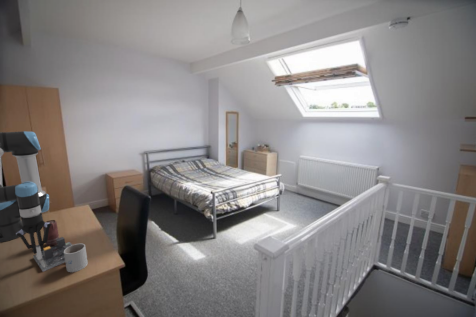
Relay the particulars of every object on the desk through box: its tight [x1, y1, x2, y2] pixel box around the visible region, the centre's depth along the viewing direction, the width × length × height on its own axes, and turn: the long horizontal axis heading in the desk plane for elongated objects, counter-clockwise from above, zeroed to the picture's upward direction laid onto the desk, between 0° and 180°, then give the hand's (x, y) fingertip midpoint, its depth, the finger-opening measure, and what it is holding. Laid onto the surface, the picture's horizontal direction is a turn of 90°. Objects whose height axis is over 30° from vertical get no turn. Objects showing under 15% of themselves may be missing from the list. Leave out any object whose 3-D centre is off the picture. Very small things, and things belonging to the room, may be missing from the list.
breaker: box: [56, 236, 66, 249], centre depth 122 cm, size 3×3×5 cm
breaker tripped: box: [43, 246, 53, 259], centre depth 113 cm, size 3×3×5 cm
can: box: [42, 219, 60, 247], centre depth 127 cm, size 6×6×14 cm
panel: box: [32, 241, 73, 273], centre depth 117 cm, size 17×16×2 cm
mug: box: [64, 243, 89, 273], centre depth 110 cm, size 12×9×10 cm
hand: (39, 257), depth 111 cm, fingers closed
